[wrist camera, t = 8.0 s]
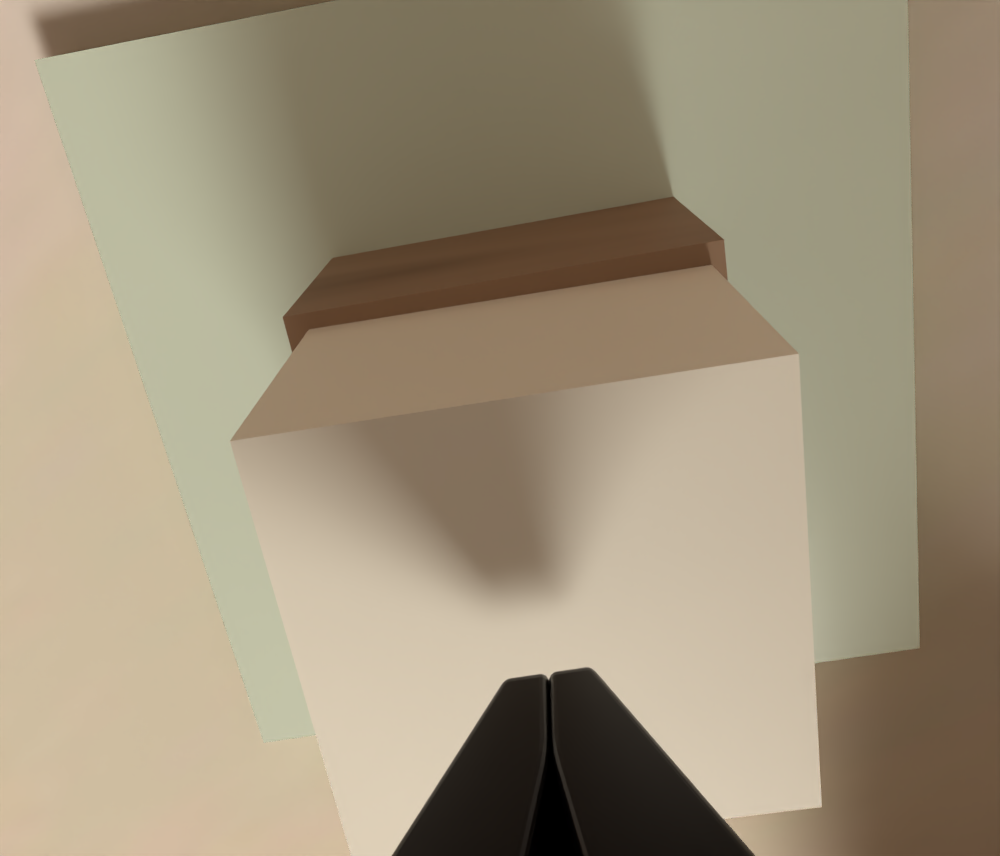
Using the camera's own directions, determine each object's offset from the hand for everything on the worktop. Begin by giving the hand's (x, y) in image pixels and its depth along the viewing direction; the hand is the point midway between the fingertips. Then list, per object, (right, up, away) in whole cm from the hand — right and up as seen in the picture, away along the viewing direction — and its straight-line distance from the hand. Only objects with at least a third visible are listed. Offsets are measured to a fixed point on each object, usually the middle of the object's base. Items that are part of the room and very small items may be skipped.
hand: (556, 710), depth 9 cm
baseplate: (0, +4, +9) cm, 10 cm away
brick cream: (0, +2, +5) cm, 5 cm away
